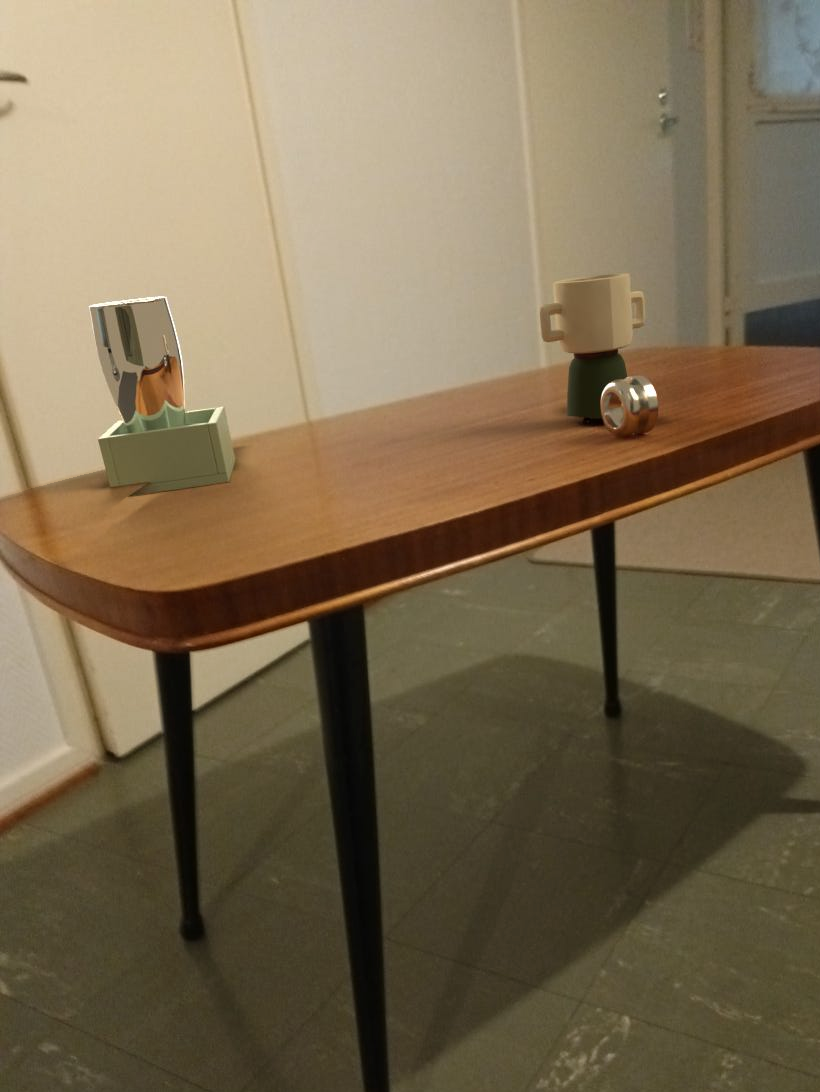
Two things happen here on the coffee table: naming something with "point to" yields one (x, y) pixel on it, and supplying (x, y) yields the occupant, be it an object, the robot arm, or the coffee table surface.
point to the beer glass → (141, 362)
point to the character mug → (592, 334)
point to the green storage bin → (170, 454)
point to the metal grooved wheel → (629, 406)
